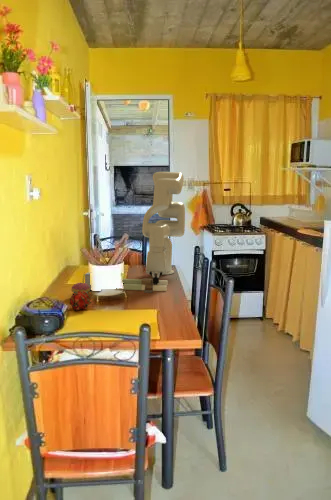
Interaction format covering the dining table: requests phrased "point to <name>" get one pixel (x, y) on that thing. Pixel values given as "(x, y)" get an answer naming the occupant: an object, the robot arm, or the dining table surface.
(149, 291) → the pads
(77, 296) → the dragon fruit
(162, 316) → the dining table surface
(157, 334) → the dining table surface
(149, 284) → the walnut block
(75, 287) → the cupcake
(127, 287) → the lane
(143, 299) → the dining table surface
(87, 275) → the medicine box
